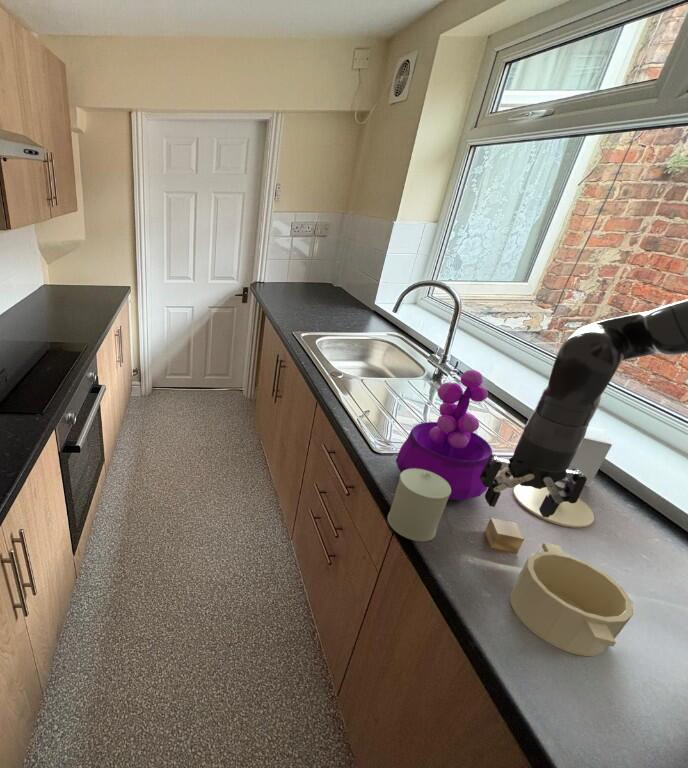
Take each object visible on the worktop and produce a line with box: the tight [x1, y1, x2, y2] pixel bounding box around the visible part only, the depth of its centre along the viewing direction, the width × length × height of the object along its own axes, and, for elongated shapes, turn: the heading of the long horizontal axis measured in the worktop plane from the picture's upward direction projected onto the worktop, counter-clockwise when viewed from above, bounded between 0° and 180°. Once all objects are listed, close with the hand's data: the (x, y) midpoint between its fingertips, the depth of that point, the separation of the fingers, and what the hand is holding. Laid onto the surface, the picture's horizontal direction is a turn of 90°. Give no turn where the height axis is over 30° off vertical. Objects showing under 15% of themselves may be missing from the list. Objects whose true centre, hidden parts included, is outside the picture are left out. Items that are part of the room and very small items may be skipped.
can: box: [387, 468, 451, 542], centre depth 86 cm, size 9×9×12 cm
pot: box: [509, 542, 634, 657], centre depth 68 cm, size 13×18×8 cm
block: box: [484, 517, 525, 554], centre depth 82 cm, size 4×4×4 cm
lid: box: [512, 481, 595, 529], centre depth 91 cm, size 14×14×6 cm
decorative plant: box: [395, 369, 493, 501], centre depth 93 cm, size 19×19×30 cm
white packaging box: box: [561, 426, 613, 488], centre depth 99 cm, size 7×7×13 cm
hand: (516, 508), depth 79 cm, fingers open, 8 cm apart
